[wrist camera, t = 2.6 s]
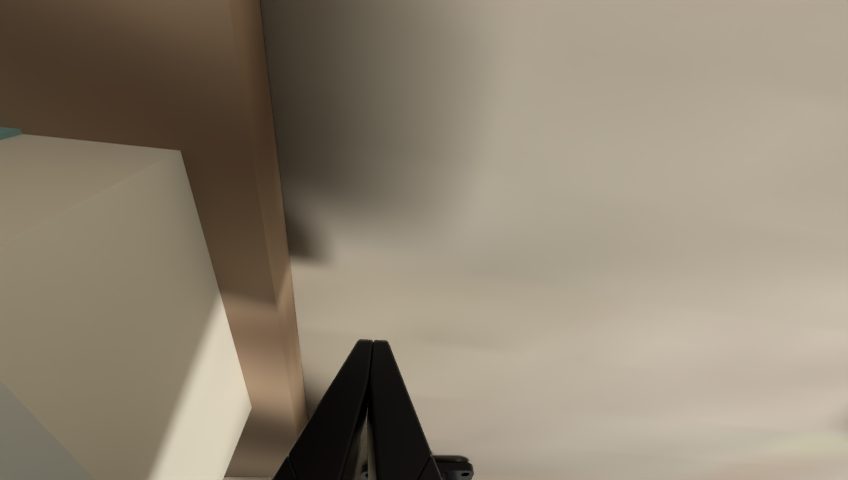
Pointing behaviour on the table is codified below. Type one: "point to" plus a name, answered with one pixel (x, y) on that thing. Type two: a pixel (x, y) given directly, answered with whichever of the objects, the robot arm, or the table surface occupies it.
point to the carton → (110, 318)
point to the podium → (201, 151)
